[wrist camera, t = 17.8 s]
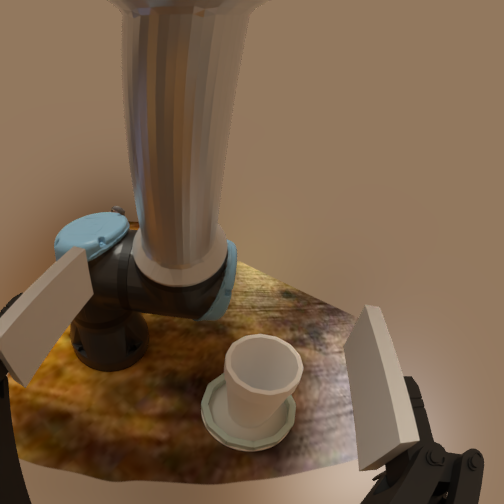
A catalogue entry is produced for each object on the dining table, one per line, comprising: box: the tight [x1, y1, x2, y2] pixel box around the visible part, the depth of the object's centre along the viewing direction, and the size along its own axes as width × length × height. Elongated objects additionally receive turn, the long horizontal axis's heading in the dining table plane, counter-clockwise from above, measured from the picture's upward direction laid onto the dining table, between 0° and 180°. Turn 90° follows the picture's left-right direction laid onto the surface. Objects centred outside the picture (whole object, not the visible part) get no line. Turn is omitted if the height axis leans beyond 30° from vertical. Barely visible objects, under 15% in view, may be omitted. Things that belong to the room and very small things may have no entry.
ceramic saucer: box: [201, 373, 296, 452], centre depth 38 cm, size 14×14×2 cm
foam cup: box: [224, 334, 304, 428], centre depth 35 cm, size 10×9×13 cm
